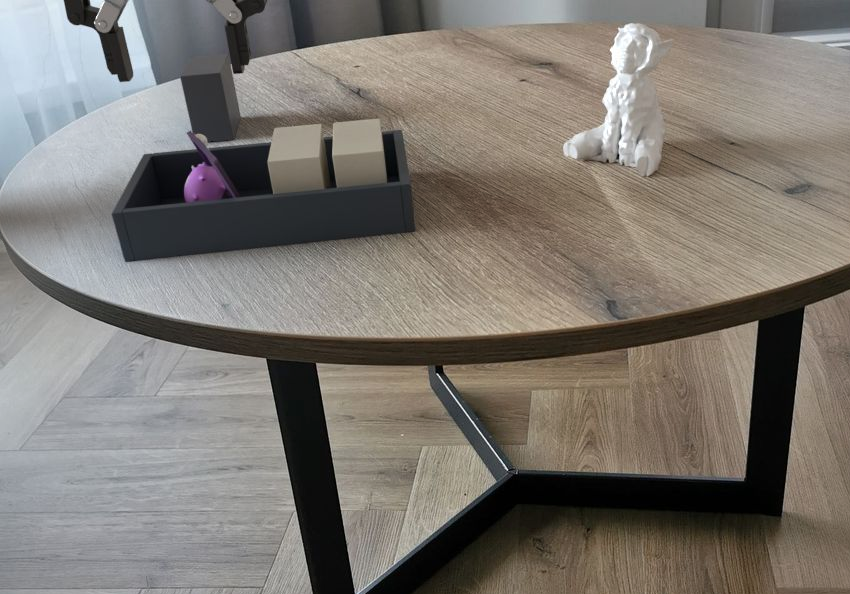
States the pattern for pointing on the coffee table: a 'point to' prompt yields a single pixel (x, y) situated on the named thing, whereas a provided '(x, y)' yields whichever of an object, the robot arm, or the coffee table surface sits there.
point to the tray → (254, 205)
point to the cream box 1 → (298, 159)
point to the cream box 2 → (358, 153)
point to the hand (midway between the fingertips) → (183, 75)
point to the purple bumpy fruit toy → (207, 176)
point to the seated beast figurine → (629, 106)
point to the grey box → (211, 97)
